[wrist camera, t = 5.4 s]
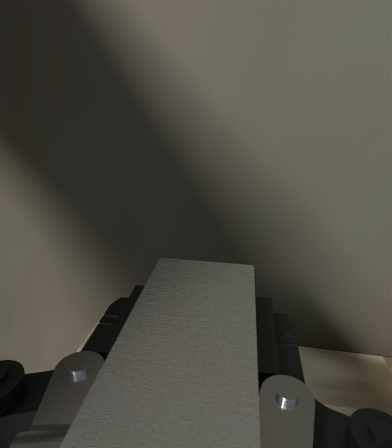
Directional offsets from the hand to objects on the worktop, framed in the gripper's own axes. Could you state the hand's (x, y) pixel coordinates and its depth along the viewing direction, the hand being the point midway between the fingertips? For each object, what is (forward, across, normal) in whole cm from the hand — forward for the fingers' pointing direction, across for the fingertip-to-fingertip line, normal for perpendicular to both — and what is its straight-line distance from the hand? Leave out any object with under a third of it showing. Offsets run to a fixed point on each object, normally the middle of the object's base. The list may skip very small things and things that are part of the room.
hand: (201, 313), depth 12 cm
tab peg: (+1, 0, 0) cm, 1 cm away
